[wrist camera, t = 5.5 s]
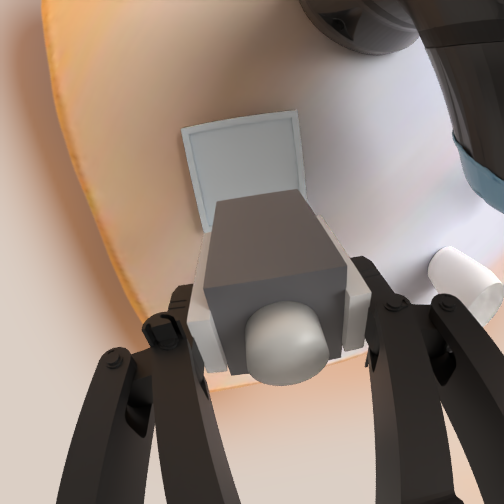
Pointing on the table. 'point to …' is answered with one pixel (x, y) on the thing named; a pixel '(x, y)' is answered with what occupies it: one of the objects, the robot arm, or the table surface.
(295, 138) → the tray
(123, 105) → the table surface
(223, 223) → the plug
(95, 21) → the table surface
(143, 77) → the table surface
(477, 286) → the cup
